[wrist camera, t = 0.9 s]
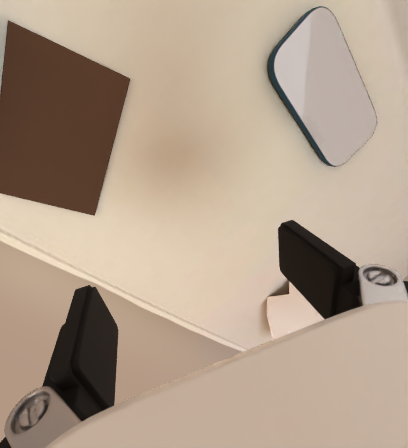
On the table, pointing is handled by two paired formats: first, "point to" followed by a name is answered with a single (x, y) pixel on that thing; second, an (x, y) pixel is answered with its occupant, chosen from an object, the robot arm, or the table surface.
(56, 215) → the table surface
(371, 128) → the external hard drive
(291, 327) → the slotted wedge
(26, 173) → the desk pad
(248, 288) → the table surface
